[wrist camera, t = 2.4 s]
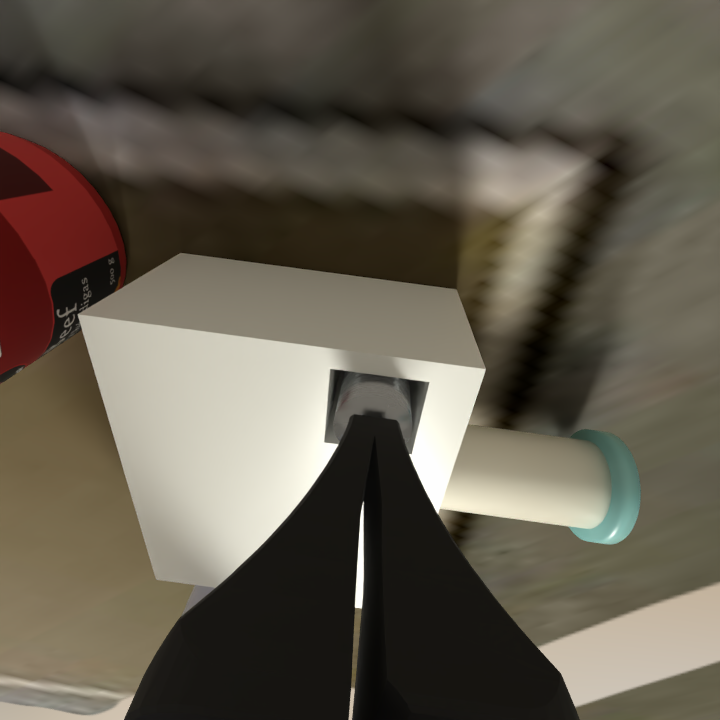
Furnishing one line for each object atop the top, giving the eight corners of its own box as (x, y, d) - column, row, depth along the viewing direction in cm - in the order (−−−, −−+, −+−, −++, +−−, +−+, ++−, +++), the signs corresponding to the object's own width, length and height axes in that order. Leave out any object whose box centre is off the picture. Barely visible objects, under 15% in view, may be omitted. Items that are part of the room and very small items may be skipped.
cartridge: (562, 480, 21) (602, 567, 17) (250, 437, 21) (215, 514, 17) (600, 410, 18) (660, 492, 14) (246, 362, 18) (204, 430, 14)
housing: (402, 503, 24) (404, 614, 19) (210, 476, 24) (156, 579, 19) (456, 289, 17) (485, 369, 11) (180, 253, 17) (77, 314, 11)
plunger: (402, 388, 16) (404, 460, 13) (344, 381, 16) (330, 450, 13) (413, 337, 15) (418, 402, 11) (350, 328, 15) (336, 391, 11)
